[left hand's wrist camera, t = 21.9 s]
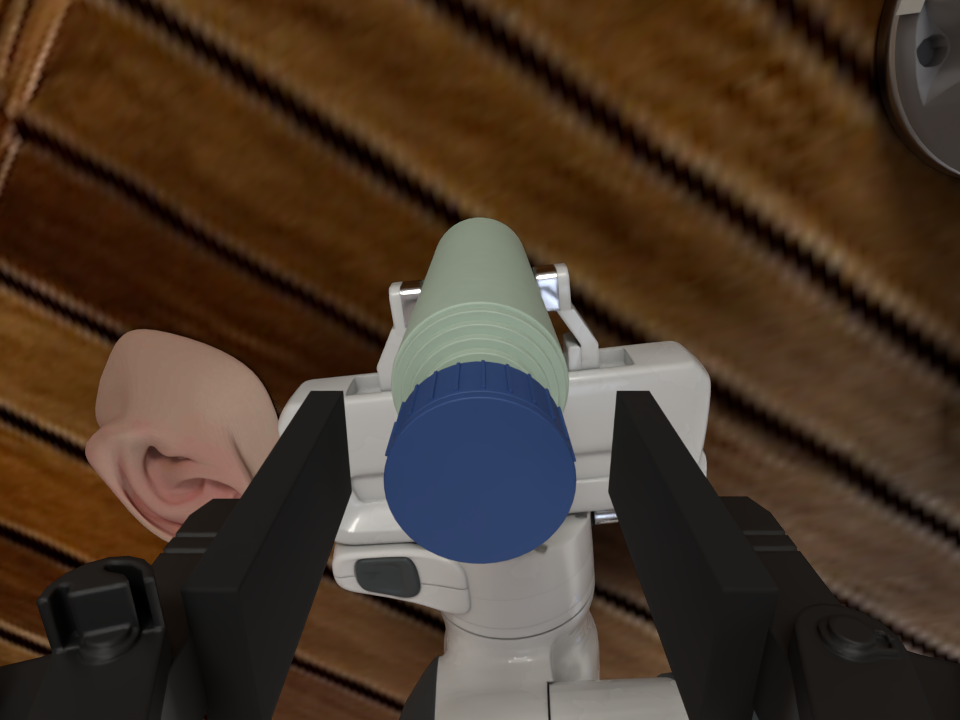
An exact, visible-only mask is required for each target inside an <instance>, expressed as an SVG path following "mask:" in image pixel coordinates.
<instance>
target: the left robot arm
mask: <svg viewBox="0 0 960 720" xmlns="http://www.w3.org/2000/svg"><path fill="white" fill-rule="evenodd" d="M877 74H878V82H879V88H880V94H881V97H882V101H883V104H884V108H885V110H886V113H887V115H888V117H889V120H890V122H891V124H892V126H893V127H894V129H895V131H896V133H897V134H898V136H899V137H900V138H901V140H902V141H903V142H904V144H905V145H906V146H907V147H908V148H909V149H910V150H911V151H912V152H913V153H914V154H915V155H916V156H917V157H918V158H920V159H921V160H922V161H923V162H925V163H926V164H928V165H929V166H931V167H933V168H934V169H936V170H938V171H940V172H942V173H945V174H947V175H950V176H953V177H956V178H959V179H960V0H886V1H885V4H884V8H883V11H882V16H881V21H880V26H879V33H878V42H877ZM351 493H352V486H351V475H350V463H349V451H348V439H347V428H346V416H345V404H344V393H343V391H310V392H309V394H308V395H307V397H306V399H305V400H304V402H303V403H302V405H301V406H300V408H299V409H298V411H297V412H296V414H295V415H294V417H293V418H292V420H291V421H290V423H289V425H288V426H287V428H286V429H285V431H284V432H283V434H282V435H281V437H280V438H279V440H278V441H277V443H276V444H275V446H274V447H273V449H272V450H271V452H270V454H269V455H268V457H267V458H266V460H265V461H264V463H263V464H262V466H261V467H260V469H259V470H258V472H257V473H256V475H255V476H254V478H253V480H252V481H251V483H250V484H249V486H248V487H247V489H246V490H245V492H244V493H243V495H242V496H241V498H240V499H212V500H210V501H209V502H207V503H206V504H205V505H203V506H202V507H200V508H199V509H197V510H196V511H194V512H193V513H192V514H190V515H189V516H188V518H187V519H186V520H185V522H184V523H183V524H182V526H181V527H180V528H179V530H178V531H177V532H176V536H175V537H173V538H172V539H171V540H170V542H169V543H168V544H167V545H166V547H165V548H164V552H163V553H160V555H159V556H158V557H157V559H156V560H155V561H154V563H153V564H152V565H150V564H149V563H147V562H146V561H145V560H144V559H140V558H136V557H131V556H121V557H108V558H104V559H101V560H97V561H94V562H90V563H87V564H84V565H82V566H80V567H78V568H76V569H74V570H72V571H70V572H68V573H66V574H64V575H63V576H61V577H60V578H59V579H57V580H56V581H55V582H53V583H52V584H51V585H49V586H48V587H47V588H46V589H45V591H44V592H43V593H42V594H41V596H40V597H39V598H38V600H37V601H36V602H37V606H38V609H39V612H40V615H41V618H42V621H43V624H44V628H45V631H46V634H47V637H48V640H49V643H50V646H51V649H52V654H49V655H46V656H43V657H39V658H35V659H31V660H27V661H22V662H18V663H14V664H10V665H5V666H1V667H0V720H203V718H204V716H205V714H206V713H207V718H208V720H271V718H272V716H273V713H274V710H275V707H276V704H277V701H278V699H279V696H280V693H281V690H282V687H283V685H284V682H285V679H286V676H287V673H288V671H289V668H290V665H291V662H292V659H293V656H294V654H295V651H296V648H297V645H298V642H299V640H300V637H301V634H302V631H303V628H304V626H305V623H306V620H307V617H308V614H309V611H310V609H311V606H312V603H313V600H314V597H315V595H316V592H317V589H318V586H319V583H320V581H321V578H322V575H323V572H324V569H325V566H326V564H327V561H328V558H329V555H330V552H331V550H332V547H333V544H334V541H335V538H336V536H337V533H338V530H339V527H340V524H341V521H342V519H343V516H344V513H345V510H346V507H347V505H348V502H349V499H350V496H351ZM608 493H609V496H610V499H611V502H612V505H613V507H614V510H615V513H616V516H617V519H618V522H619V524H620V527H621V530H622V533H623V536H624V538H625V541H626V544H627V547H628V550H629V552H630V555H631V558H632V561H633V564H634V567H635V569H636V572H637V575H638V578H639V581H640V583H641V586H642V589H643V592H644V595H645V597H646V600H647V603H648V606H649V609H650V612H651V614H652V617H653V620H654V623H655V626H656V628H657V631H658V634H659V637H660V640H661V642H662V645H663V648H664V651H665V654H666V657H667V659H668V662H669V665H670V668H671V671H672V673H673V676H674V679H675V682H676V685H677V687H678V690H679V693H680V696H681V699H682V702H683V704H684V707H685V710H686V713H687V716H688V718H689V720H752V718H753V713H754V711H755V713H756V715H757V717H758V719H759V720H960V664H957V663H953V662H949V661H945V660H940V659H936V658H932V657H928V656H923V655H919V654H916V653H913V652H910V651H907V650H906V648H905V647H904V645H903V644H902V642H901V641H900V639H899V638H898V636H896V635H895V634H894V633H893V632H892V631H891V630H889V629H888V628H887V627H886V626H885V625H883V624H882V623H881V622H879V621H877V620H876V619H874V618H872V617H870V616H868V615H866V614H865V613H863V612H861V611H858V610H855V609H851V608H848V607H845V606H842V605H841V604H840V603H839V602H838V601H837V599H836V598H835V597H834V595H833V594H832V593H831V591H830V590H829V589H828V587H827V586H826V585H825V583H824V582H823V581H822V580H821V578H820V577H819V576H818V574H817V573H816V572H815V570H814V569H813V568H812V566H811V565H810V564H809V562H808V561H807V560H806V559H805V557H804V556H803V555H802V553H801V552H800V551H797V547H796V545H795V544H794V543H793V542H792V540H791V539H790V538H789V536H788V535H785V531H784V530H783V528H782V527H781V526H780V524H779V523H778V522H777V521H776V519H775V518H774V517H773V515H772V514H771V513H770V512H769V511H767V510H766V509H764V508H763V507H762V506H760V505H759V504H757V503H756V502H754V501H753V500H751V499H750V498H748V497H719V496H718V495H717V493H716V492H715V490H714V489H713V487H712V486H711V484H710V483H709V481H708V480H707V478H706V476H705V475H704V473H703V472H702V470H701V469H700V467H699V466H698V464H697V463H696V461H695V460H694V458H693V457H692V455H691V454H690V452H689V450H688V449H687V447H686V446H685V444H684V443H683V441H682V440H681V438H680V437H679V435H678V434H677V432H676V431H675V429H674V428H673V426H672V425H671V423H670V421H669V420H668V418H667V417H666V415H665V414H664V412H663V411H662V409H661V408H660V406H659V405H658V403H657V402H656V400H655V399H654V397H653V395H652V394H651V392H650V391H617V393H616V404H615V416H614V428H613V439H612V451H611V463H610V475H609V486H608Z"/></svg>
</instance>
